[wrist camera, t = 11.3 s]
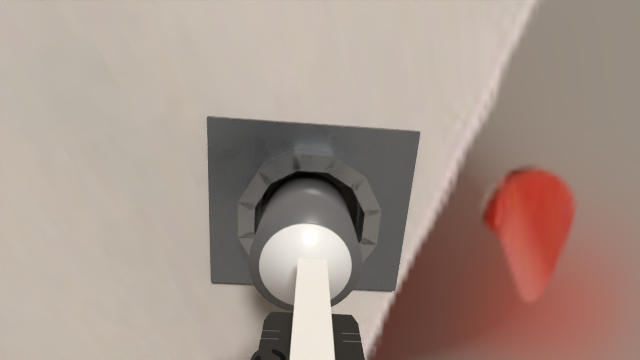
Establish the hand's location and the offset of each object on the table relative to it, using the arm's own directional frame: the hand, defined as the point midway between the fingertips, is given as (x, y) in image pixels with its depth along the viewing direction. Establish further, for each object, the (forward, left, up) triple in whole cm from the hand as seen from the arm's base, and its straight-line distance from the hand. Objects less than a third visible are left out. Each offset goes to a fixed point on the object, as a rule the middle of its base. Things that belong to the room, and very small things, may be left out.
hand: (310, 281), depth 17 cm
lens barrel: (0, 0, -10) cm, 10 cm away
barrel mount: (0, 0, -10) cm, 10 cm away
